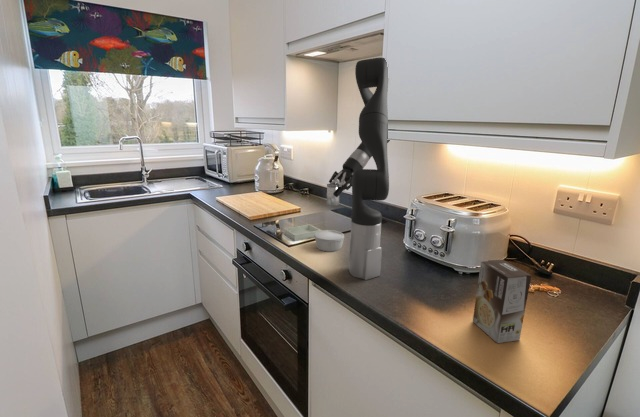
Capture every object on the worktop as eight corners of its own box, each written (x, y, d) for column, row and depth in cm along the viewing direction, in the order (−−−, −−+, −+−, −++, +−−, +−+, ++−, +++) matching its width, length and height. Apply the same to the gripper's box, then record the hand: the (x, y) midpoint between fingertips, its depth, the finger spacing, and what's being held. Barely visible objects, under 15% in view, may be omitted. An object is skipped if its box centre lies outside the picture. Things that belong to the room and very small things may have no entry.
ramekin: (348, 245, 134) (348, 232, 132) (337, 255, 124) (337, 241, 122) (321, 240, 138) (322, 228, 137) (309, 249, 128) (309, 236, 127)
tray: (321, 235, 143) (321, 230, 142) (294, 241, 136) (294, 235, 136) (309, 229, 151) (309, 224, 150) (283, 234, 144) (283, 228, 144)
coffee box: (521, 340, 78) (534, 275, 73) (497, 344, 76) (508, 278, 72) (493, 317, 86) (502, 258, 82) (470, 320, 85) (479, 260, 81)
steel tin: (341, 204, 139) (342, 185, 137) (331, 206, 136) (331, 186, 134) (334, 202, 143) (334, 183, 141) (324, 203, 140) (324, 184, 138)
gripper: (340, 154, 145) (316, 185, 142) (362, 158, 133) (336, 191, 130) (350, 166, 149) (326, 196, 146) (372, 171, 137) (346, 203, 134)
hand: (331, 194), depth 138 cm, fingers closed on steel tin, 5 cm apart
